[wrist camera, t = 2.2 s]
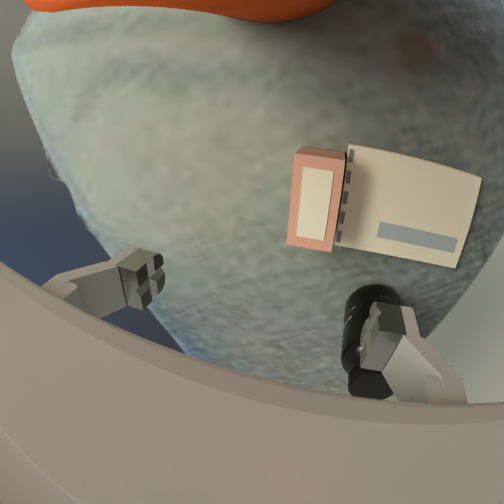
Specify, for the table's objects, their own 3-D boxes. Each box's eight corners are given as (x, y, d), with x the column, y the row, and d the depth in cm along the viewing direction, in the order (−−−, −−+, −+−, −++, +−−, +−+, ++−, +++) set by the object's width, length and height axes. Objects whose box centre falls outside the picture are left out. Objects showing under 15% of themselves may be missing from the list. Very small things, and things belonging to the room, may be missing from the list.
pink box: (344, 152, 24) (345, 160, 19) (333, 230, 28) (331, 252, 23) (302, 146, 25) (294, 153, 20) (295, 223, 29) (286, 244, 24)
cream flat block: (475, 174, 20) (482, 178, 18) (451, 261, 25) (455, 268, 23) (348, 142, 23) (349, 144, 22) (334, 238, 28) (334, 245, 27)
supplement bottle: (336, 292, 31) (326, 373, 21) (391, 274, 28) (405, 355, 18) (354, 333, 33) (348, 412, 23) (404, 318, 30) (414, 398, 20)
